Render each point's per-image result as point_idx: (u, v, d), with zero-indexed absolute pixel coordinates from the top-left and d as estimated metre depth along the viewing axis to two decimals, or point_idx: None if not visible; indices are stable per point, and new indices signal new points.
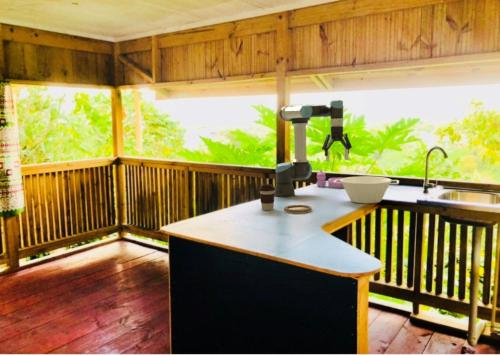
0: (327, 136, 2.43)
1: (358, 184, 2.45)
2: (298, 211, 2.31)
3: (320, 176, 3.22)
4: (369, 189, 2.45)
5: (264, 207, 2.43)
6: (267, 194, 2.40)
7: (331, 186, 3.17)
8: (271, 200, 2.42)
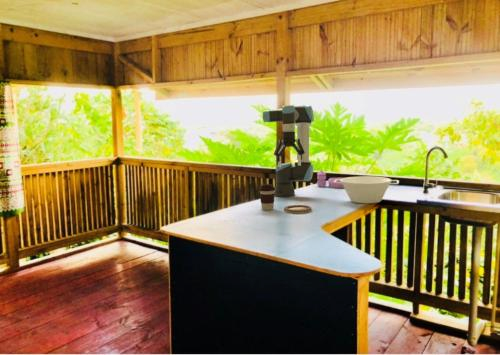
0: (279, 141, 2.39)
1: (358, 184, 2.45)
2: (298, 211, 2.31)
3: (320, 176, 3.23)
4: (369, 189, 2.45)
5: (264, 207, 2.43)
6: (267, 194, 2.40)
7: (331, 186, 3.17)
8: (271, 200, 2.42)
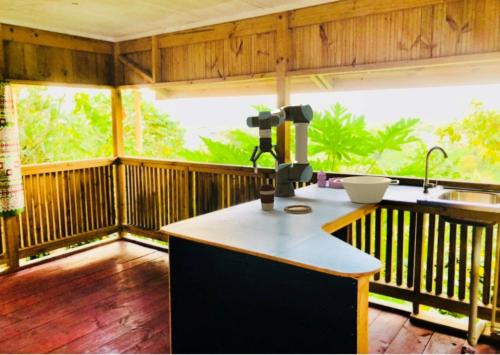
0: (255, 147, 2.38)
1: (358, 184, 2.45)
2: (298, 211, 2.31)
3: (320, 176, 3.22)
4: (369, 189, 2.45)
5: (264, 207, 2.43)
6: (267, 194, 2.40)
7: (331, 186, 3.17)
8: (271, 200, 2.42)
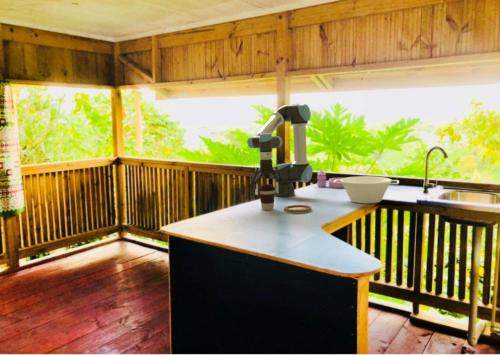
0: (256, 169, 2.40)
1: (358, 184, 2.45)
2: (298, 211, 2.31)
3: (321, 176, 3.22)
4: (369, 189, 2.45)
5: (264, 207, 2.43)
6: (267, 194, 2.40)
7: (332, 186, 3.16)
8: (271, 200, 2.42)
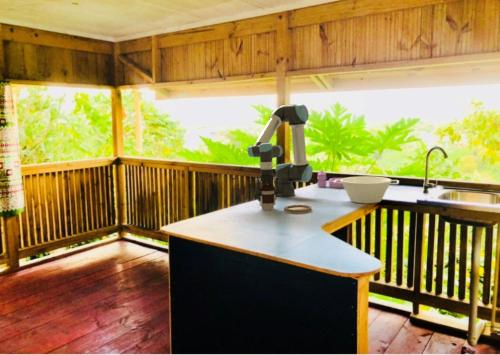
0: (256, 181, 2.41)
1: (358, 184, 2.45)
2: (298, 211, 2.31)
3: (321, 176, 3.21)
4: (369, 189, 2.45)
5: (264, 207, 2.43)
6: (267, 194, 2.40)
7: (332, 186, 3.16)
8: (271, 200, 2.42)
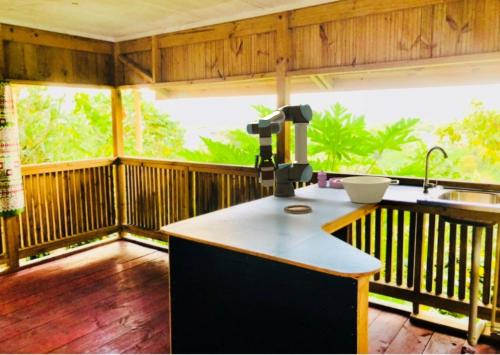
0: (256, 157, 2.39)
1: (358, 184, 2.45)
2: (298, 211, 2.31)
3: (321, 176, 3.21)
4: (369, 189, 2.45)
5: (264, 184, 2.41)
6: (267, 170, 2.39)
7: (332, 186, 3.16)
8: (271, 176, 2.40)
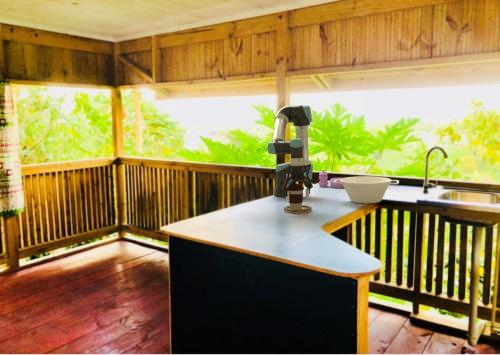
0: (286, 176, 2.34)
1: (358, 184, 2.45)
2: (298, 211, 2.31)
3: (322, 176, 3.23)
4: (369, 189, 2.45)
5: (292, 207, 2.35)
6: (296, 194, 2.33)
7: (333, 186, 3.16)
8: (300, 200, 2.34)
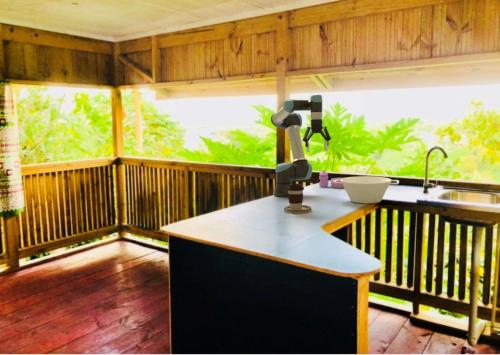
0: (307, 128, 2.59)
1: (358, 184, 2.45)
2: (298, 211, 2.31)
3: (323, 176, 3.21)
4: (369, 189, 2.45)
5: (292, 207, 2.35)
6: (296, 194, 2.33)
7: (334, 186, 3.15)
8: (300, 200, 2.34)
